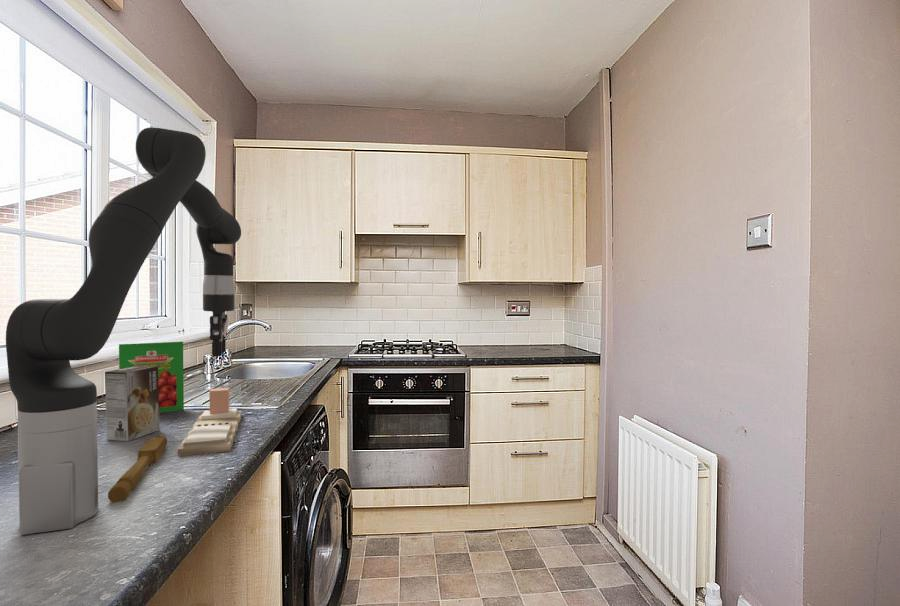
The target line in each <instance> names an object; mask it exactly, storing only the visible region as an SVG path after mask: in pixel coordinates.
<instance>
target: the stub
mask: <svg viewBox="0 0 900 606" xmlns="http://www.w3.org/2000/svg"><path fill="white" fill-rule="evenodd" d="M237 411H238V407H237V408H235V407H233V408H230V387H224V388H223V387H222V388H211V389H210V390H209V410H204V411H203V412H202V413H201V414H202V415H201V414H200V415H201V420H208V419H220V418H233V417H236V414H237Z"/></svg>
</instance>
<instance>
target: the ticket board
mask: <svg viewBox="0 0 900 606" xmlns="http://www.w3.org/2000/svg"><path fill="white" fill-rule="evenodd" d="M202 414H203V413H201V414H200V415H199V416H198V418H197V419H196V421H195V423H193V425H192V426H191V428H190V430H189V431H188V433H187V434H186V436H185V437H184V439H183V440H182V442H181V443H180V445H178V448H177V457H181V456H183V457H184V456H193V455H203V454H212V453H221V452H230V451H231V448H232V446H233V443H234V440H235V437H236V434H237V431H238V428H239V424H240V422H241V420H242V416H243V415H242V410H239V411H238V410H237V414H236V417H233V418H220V419H208V420H201V415H202Z"/></svg>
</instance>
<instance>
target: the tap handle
mask: <svg viewBox="0 0 900 606" xmlns="http://www.w3.org/2000/svg"><path fill="white" fill-rule="evenodd" d="M167 444H168V439H167V437H166V436H165V435H156V436H155V437H154V438H148V440H147V441H146V442H145V443H143V444H142V446H141V447H140V449H138V452H137V459H136V462H135V463H134V464H132V465H131V467H129V469H128V470H126V472H124V473H123V475H122V476H121V477H119V479H118V480H117V481H116V483H115V484H114V485H113V486H112V487H110V489H109V491H108V493H107V499H109V501H110V502H112V503H119V502H120V501H121V502H124V501H126V499H127V498H128V497H129V495H130V494H131V493H132V491H133V490H134V489H135V487H136V486H137V484H138V482H139V481H140V479H141V478H142V476H143V475H144V473H145V471H146V470H147V468H149V467H150V466H151V465H153V464H157V462H158V461H159V460H160V459H161V457H162V456H163V454H164V453H165V451H166V445H167Z"/></svg>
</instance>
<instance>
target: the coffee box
mask: <svg viewBox="0 0 900 606" xmlns="http://www.w3.org/2000/svg"><path fill="white" fill-rule="evenodd" d="M104 380H105V381H104V384H105V388H104V389H105V392H104V393H105V419H106V420H105V423H106V424H105V426H106V429H105V430H106V440H107V441H108V440H109V441H121V442H130V441H133V440H136V439H138V438H141V437H143V436H147V435H150V434H151V433H152V434H153V433H155V432H158V431H160V428H161V427H160V413H159V385H158V366H134V367H128V368H123V369H119V368H117V369H113V370H107V371H104Z"/></svg>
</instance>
